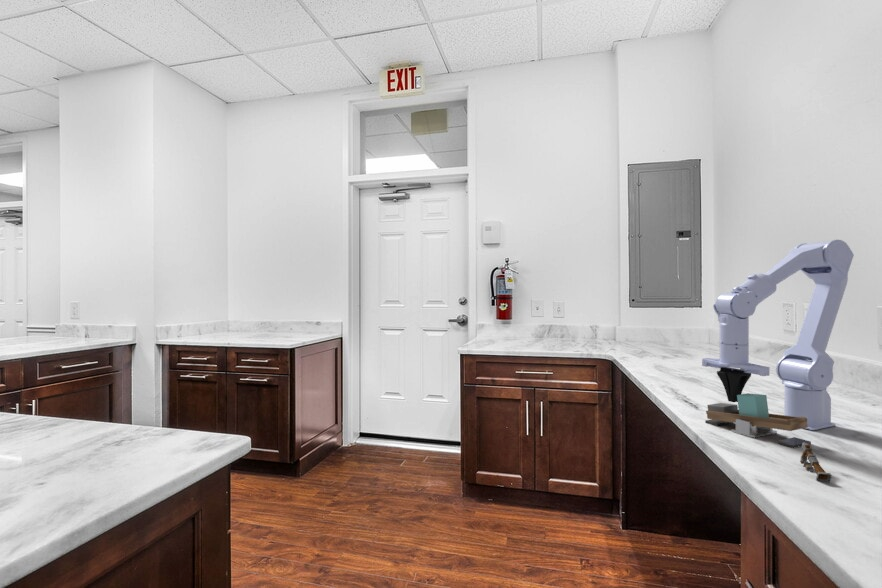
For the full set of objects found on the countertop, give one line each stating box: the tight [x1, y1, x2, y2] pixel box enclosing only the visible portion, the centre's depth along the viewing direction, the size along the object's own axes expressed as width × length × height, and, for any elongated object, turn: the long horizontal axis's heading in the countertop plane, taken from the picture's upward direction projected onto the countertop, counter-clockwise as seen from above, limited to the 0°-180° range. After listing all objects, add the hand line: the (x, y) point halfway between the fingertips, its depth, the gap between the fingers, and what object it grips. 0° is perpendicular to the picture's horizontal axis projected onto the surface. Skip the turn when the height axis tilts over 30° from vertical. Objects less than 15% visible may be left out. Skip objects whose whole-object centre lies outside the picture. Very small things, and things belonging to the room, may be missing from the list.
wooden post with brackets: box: [799, 443, 833, 483], centre depth 78 cm, size 2×8×4 cm, turn 162°
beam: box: [705, 402, 808, 432], centre depth 100 cm, size 6×18×4 cm, turn 24°
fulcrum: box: [705, 418, 812, 449], centre depth 100 cm, size 8×19×3 cm, turn 24°
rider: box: [737, 393, 770, 418], centre depth 100 cm, size 4×4×5 cm
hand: (733, 401), depth 104 cm, fingers closed
